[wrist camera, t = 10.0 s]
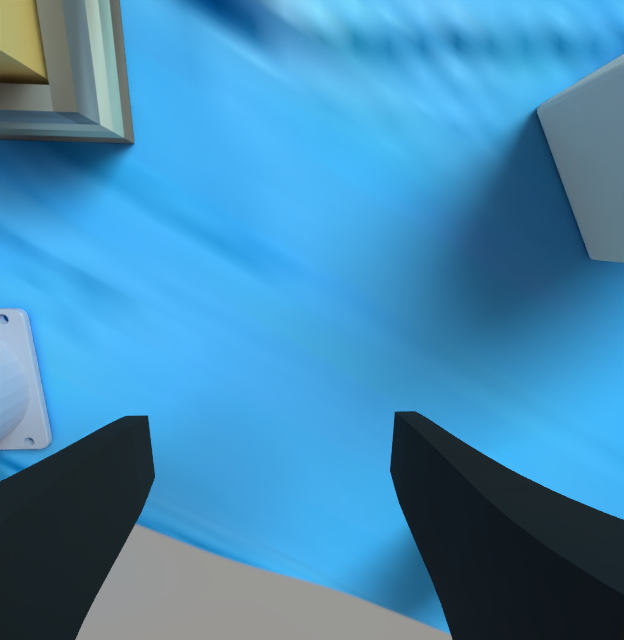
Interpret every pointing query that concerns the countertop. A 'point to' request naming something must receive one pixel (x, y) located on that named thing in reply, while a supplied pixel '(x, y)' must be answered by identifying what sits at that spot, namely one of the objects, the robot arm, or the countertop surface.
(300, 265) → the countertop surface
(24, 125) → the tower base
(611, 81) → the soap bottle
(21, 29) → the ochre block
